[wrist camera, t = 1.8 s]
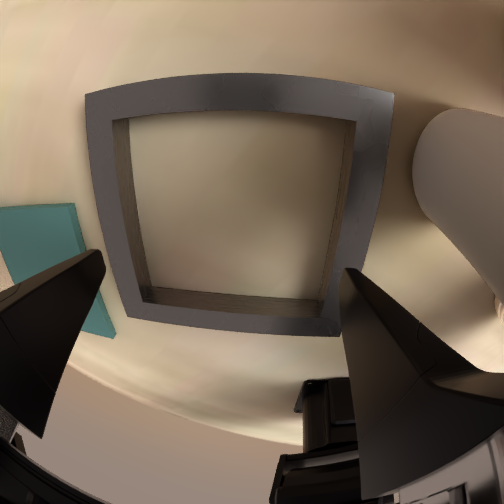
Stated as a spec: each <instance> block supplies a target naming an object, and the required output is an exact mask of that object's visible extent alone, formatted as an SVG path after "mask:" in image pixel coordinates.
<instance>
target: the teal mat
mask: <svg viewBox="0 0 504 504" xmlns="http://www.w3.org/2000/svg"><path fill="white" fill-rule="evenodd" d="M0 250H1V253H2V256H3V258H4V261H5V263H6V266H7V268H8V271H9V273H10V275H11V277H12V280H13V282H14V284H15V285H16V284H18V283H20V282H22V281H24V280H26V279H27V278H29V277H32V276H34V275H36V274H38V273H40V272H42V271H44V270H46V269H48V268H50V267H52V266H54V265H56V264H59V263H61V262H63V261H65V260H67V259H69V258H72V257H74V256H76V255H78V254H81V253H83V252H85V251H86V249H85V245H84V241H83V238H82V234H81V230H80V226H79V222H78V218H77V214H76V209H75V204H74V203H66V204H44V205H27V206H12V207H0ZM81 331H85V332H88V333H92V334H96V335H100V336H104V337H108V338H112V339H114V337H115V335H116V332H115V329H114V327H113V325H112V322H111V320H110V318H109V315H108V313H107V310H106V308H105V305H104V302H103V300H102V297H101V294H100V292H99V290H98V293H97V295H96V298H95V300H94V303H93V305H92V307H91V309H90V311H89V314H88V316H87V318H86V320H85V322H84V324H83V326H82V329H81Z"/></svg>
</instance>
